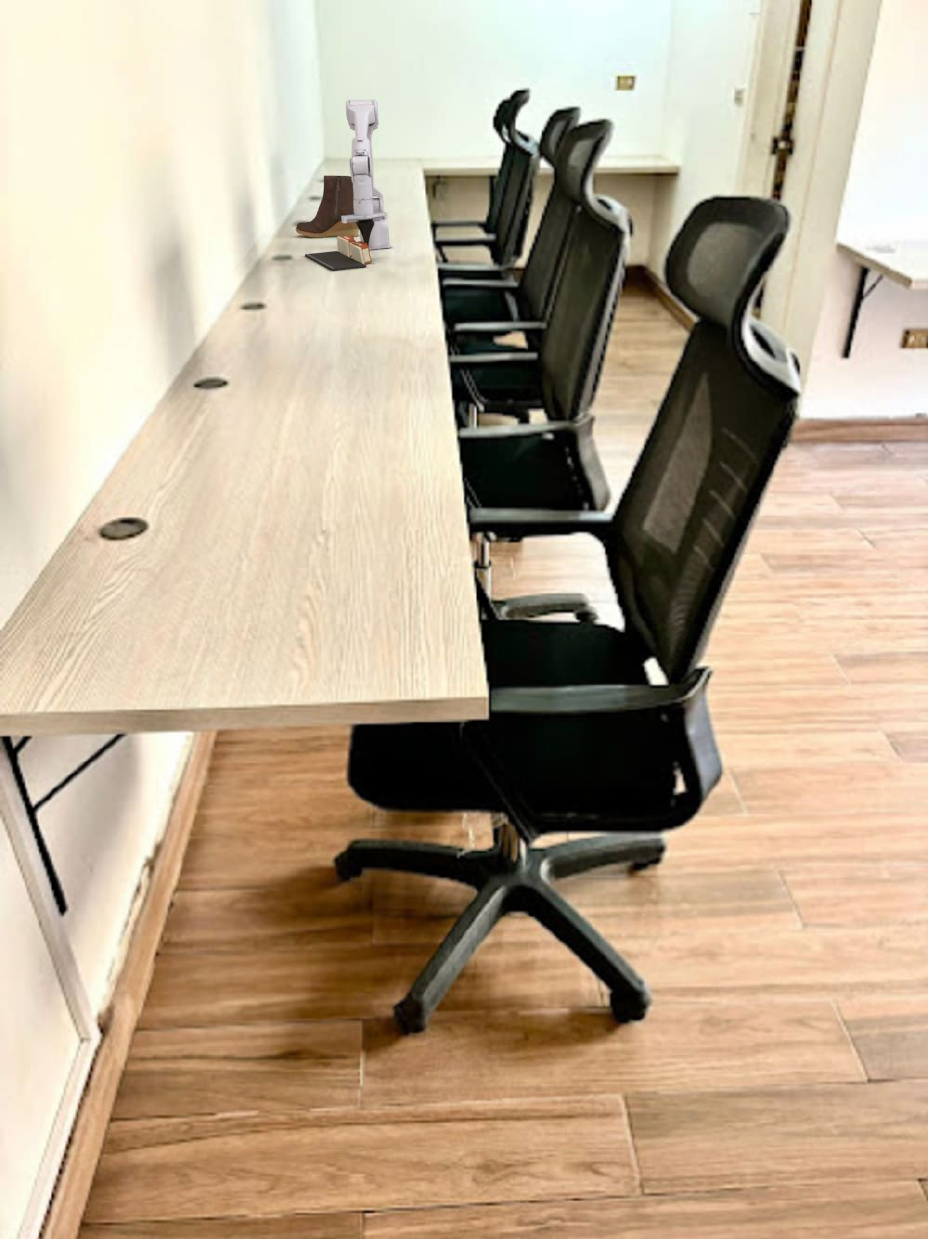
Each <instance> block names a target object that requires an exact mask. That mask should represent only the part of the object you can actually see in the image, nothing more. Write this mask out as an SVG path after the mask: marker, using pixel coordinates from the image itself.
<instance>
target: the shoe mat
mask: <svg viewBox="0 0 928 1239" xmlns="http://www.w3.org/2000/svg"><path fill="white" fill-rule="evenodd" d="M304 256H305V257H306V258H308V259H309V260H311V261H314V262H315V263H316V264H319V265H321V266H322V267H324V268H326V269H328V270H330V271H331V272H336V271H346V270H354V269H355V270H356V269H364V268H367V264H362V263H360V262H358V261H356V260H354V259H352V257H348V256H346V255H344V254H342V253H340V252H338V250H333V251H332V250H330V251H323V252H322V251H321V252H313V253H305V254H304Z"/></svg>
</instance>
